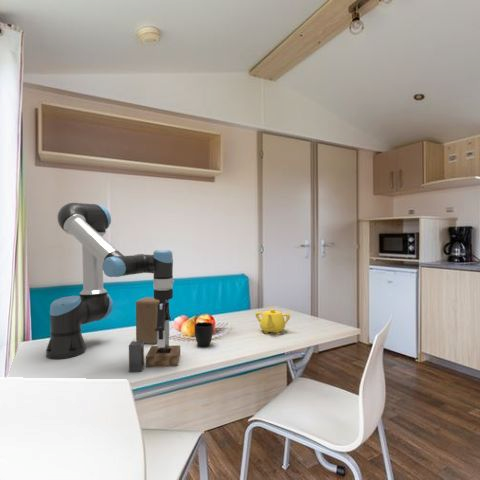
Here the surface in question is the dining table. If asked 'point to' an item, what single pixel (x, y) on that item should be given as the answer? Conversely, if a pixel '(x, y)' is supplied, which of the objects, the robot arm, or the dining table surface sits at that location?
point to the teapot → (272, 321)
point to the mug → (203, 333)
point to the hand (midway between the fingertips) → (163, 341)
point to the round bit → (166, 328)
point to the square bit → (136, 356)
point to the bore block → (163, 357)
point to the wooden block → (146, 320)
